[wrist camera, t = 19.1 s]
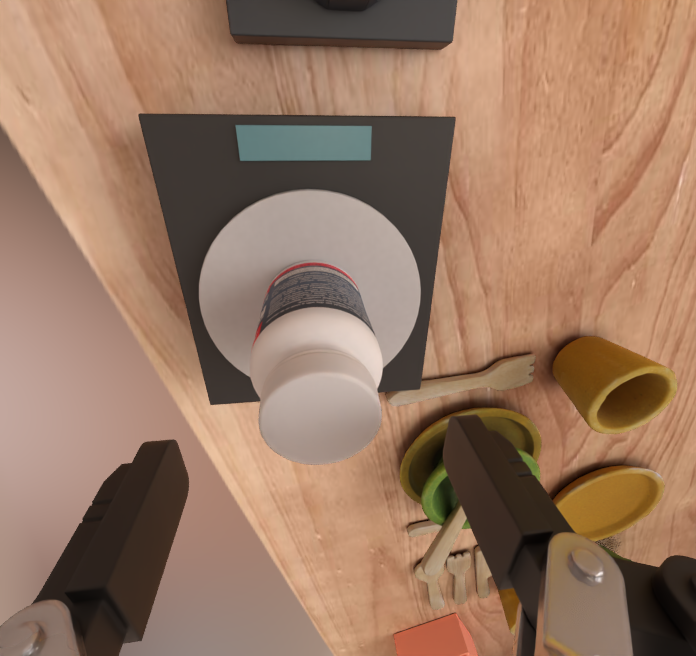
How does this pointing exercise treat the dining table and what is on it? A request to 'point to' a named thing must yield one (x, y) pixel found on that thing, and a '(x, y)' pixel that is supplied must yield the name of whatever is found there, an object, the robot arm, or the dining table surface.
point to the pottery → (436, 639)
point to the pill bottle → (316, 366)
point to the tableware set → (575, 499)
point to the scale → (301, 224)
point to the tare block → (344, 22)
